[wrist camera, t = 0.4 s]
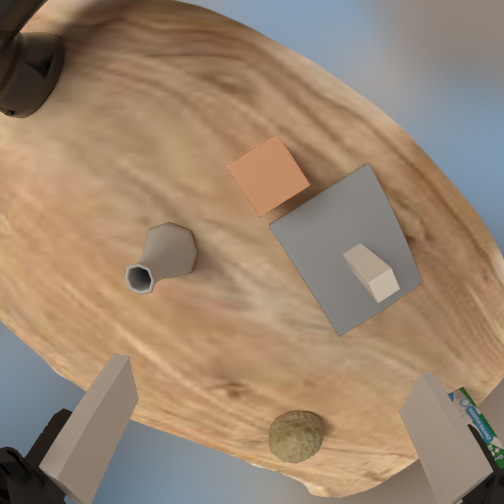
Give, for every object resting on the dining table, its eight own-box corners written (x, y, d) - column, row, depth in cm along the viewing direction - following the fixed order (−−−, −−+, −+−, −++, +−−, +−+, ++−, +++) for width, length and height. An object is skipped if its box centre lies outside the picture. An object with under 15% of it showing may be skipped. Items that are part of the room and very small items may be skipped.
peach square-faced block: (235, 168, 31) (225, 167, 23) (273, 144, 30) (277, 134, 22) (260, 205, 32) (259, 217, 24) (297, 181, 31) (310, 185, 23)
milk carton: (423, 426, 44) (459, 507, 20) (430, 402, 42) (476, 491, 18) (454, 411, 43) (495, 484, 19) (463, 386, 41) (514, 464, 17)
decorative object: (294, 392, 45) (262, 425, 37) (341, 419, 40) (316, 458, 32) (280, 419, 48) (250, 449, 40) (321, 443, 43) (295, 478, 35)
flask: (198, 222, 33) (172, 244, 24) (198, 279, 35) (177, 317, 26) (143, 221, 33) (103, 240, 24) (146, 274, 35) (112, 308, 26)
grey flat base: (268, 224, 33) (271, 246, 23) (365, 163, 30) (404, 162, 21) (337, 332, 37) (356, 378, 27) (419, 279, 34) (457, 311, 25)
